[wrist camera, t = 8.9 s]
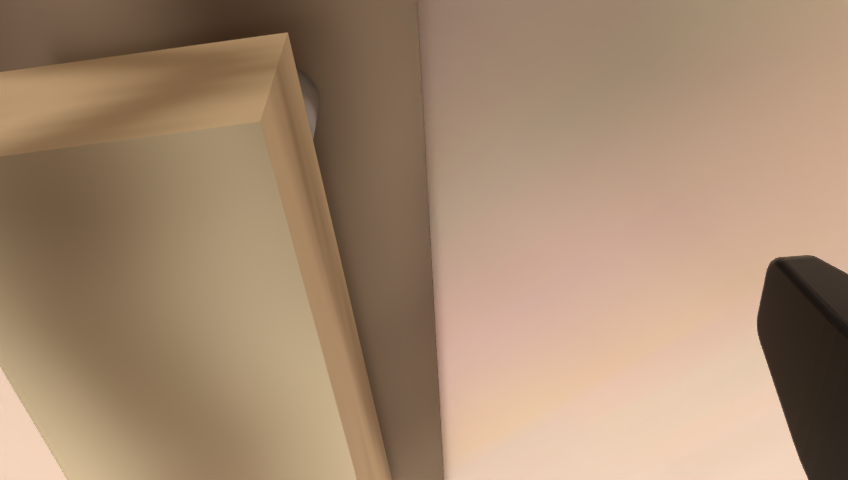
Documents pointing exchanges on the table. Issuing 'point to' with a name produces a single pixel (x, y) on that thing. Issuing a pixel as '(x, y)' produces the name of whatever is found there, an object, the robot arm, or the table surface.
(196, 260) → the beige wooden block
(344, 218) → the peg stand
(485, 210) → the table surface
